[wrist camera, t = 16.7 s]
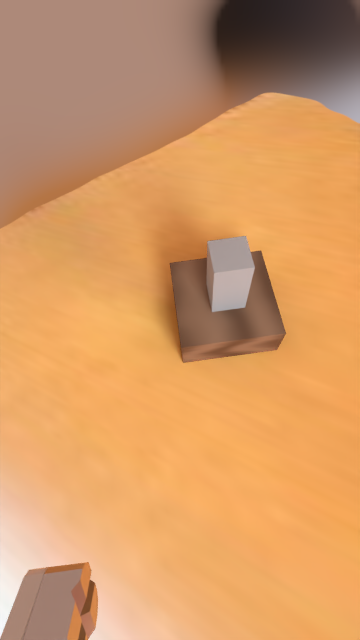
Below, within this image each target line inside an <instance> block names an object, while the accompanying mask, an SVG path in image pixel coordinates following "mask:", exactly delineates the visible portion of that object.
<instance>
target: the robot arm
mask: <svg viewBox="0 0 360 640" xmlns="http://www.w3.org/2000/svg"><path fill="white" fill-rule="evenodd" d="M90 576H91V568H90V566H89V563H88V562H86V563H78V564H70V565H62V566H55V567H46V568H39V569H32V570H29V571H28V572H27V574H26V575H25V577H24V578H23V581H22V583H21V586H20V589H19V591H18V594H17V596H16V599H15V602H14V604H13V607H12V609H11V612H10V615H9V617H8V620H7V623H6V625H5V628H4V630H3V633H2V636H1V638H0V640H88V639H89V637H90V636H91V634H92V633H93V631H94V630H95V627H96V620H97V610H98V596H97V589H96V585H95V583H94V582H93V581H91V580H90Z"/></svg>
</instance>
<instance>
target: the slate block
mask: <svg viewBox="0 0 360 640" xmlns="http://www.w3.org/2000/svg"><path fill="white" fill-rule="evenodd" d="M254 269H255V266H254V263H253V259H252V256H251V252H250V249H249V245H248V242H247V238H246V236H242V237H235V238H228V239H221V240H213V241H207V281H206V285H207V290H208V295H209V300H210V305H211V310H212V312H216V311H223V310H230V309H238V308H245V306H246V302H247V298H248V293H249V289H250V285H251V281H252V277H253V273H254Z"/></svg>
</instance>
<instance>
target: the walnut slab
mask: <svg viewBox="0 0 360 640" xmlns="http://www.w3.org/2000/svg"><path fill="white" fill-rule="evenodd" d="M251 256H252V259H253V263H254V266H255V269H254V273H253V277H252V281H251V285H250V289H249V293H248V298H247V302H246V306H245V308H238V309H230V310H223V311H216V312H212V310H211V305H210V300H209V295H208V290H207V285H206V281H207V258H203V259H196V260H189V261H182V262H174V263H170V268H171V276H172V283H173V291H174V298H175V306H176V313H177V321H178V328H179V335H180V343H181V350H182V357H183V363H184V362H192V361H199V360H206V359H214V358H221V357H228V356H235V355H243V354H250V353H257V352H264V351H272V350H277V349H278V347H279V345H280V343H281V341H282V340H283V338H284V336H285V334H286V332H285V329H284V326H283V322H282V319H281V316H280V312H279V309H278V306H277V302H276V299H275V296H274V292H273V289H272V286H271V282H270V279H269V276H268V272H267V269H266V266H265V262H264V259H263V256H262V252H261V251H255V252H251Z"/></svg>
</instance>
